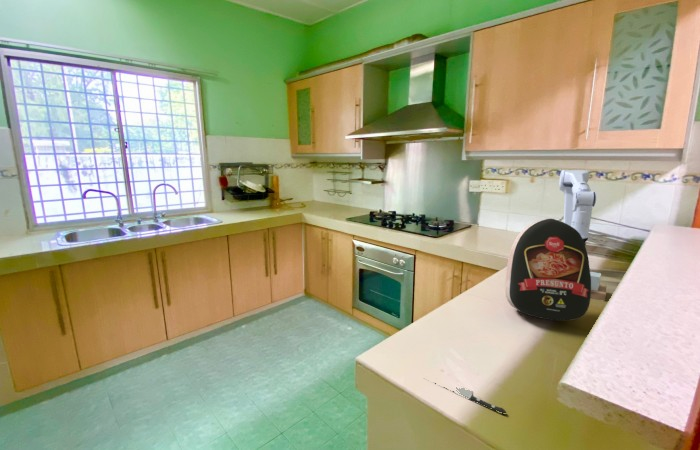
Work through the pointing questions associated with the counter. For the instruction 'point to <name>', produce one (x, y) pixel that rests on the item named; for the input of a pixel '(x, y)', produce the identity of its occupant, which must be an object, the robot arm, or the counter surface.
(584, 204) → the robot arm
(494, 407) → the chef's knife
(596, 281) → the grey cube
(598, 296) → the walnut block
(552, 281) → the packaged food
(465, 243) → the counter surface
